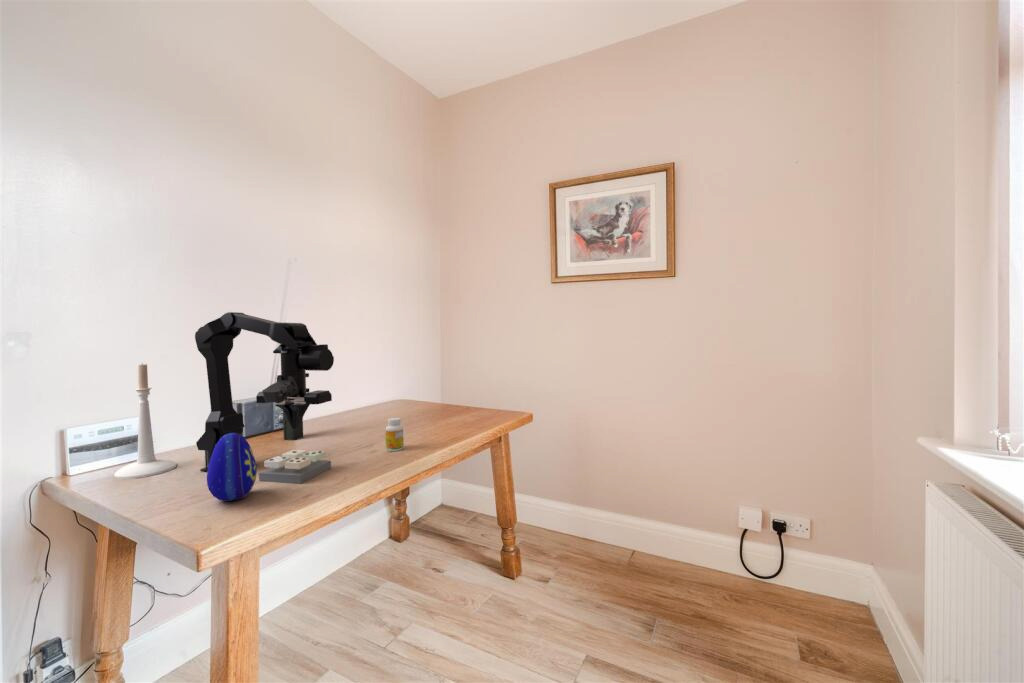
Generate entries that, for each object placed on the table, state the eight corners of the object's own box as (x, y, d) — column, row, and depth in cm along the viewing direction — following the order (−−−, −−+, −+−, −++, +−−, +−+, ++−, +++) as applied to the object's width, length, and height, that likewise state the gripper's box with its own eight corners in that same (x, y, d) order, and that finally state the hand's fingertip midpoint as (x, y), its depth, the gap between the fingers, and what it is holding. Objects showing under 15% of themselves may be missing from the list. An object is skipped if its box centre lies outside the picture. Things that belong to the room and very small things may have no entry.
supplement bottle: (382, 449, 131) (382, 419, 131) (397, 445, 135) (397, 416, 135) (391, 452, 127) (391, 421, 127) (406, 448, 131) (406, 418, 131)
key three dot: (301, 460, 110) (301, 454, 110) (312, 456, 114) (312, 450, 114) (315, 461, 109) (315, 455, 109) (325, 456, 113) (325, 450, 113)
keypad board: (259, 480, 105) (258, 473, 105) (293, 465, 116) (293, 458, 116) (300, 483, 102) (300, 475, 102) (330, 467, 114) (330, 460, 114)
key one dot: (282, 459, 111) (281, 453, 111) (293, 455, 115) (293, 449, 115) (295, 460, 110) (295, 454, 110) (306, 455, 114) (306, 449, 114)
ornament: (250, 504, 90) (248, 436, 90) (200, 511, 87) (198, 441, 86) (261, 487, 100) (260, 426, 100) (217, 492, 97) (215, 429, 97)
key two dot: (264, 467, 105) (264, 460, 105) (277, 461, 109) (276, 455, 109) (278, 467, 104) (278, 461, 104) (290, 462, 108) (290, 456, 108)
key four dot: (284, 468, 104) (284, 461, 104) (296, 462, 108) (296, 456, 108) (299, 469, 103) (299, 462, 103) (310, 463, 107) (310, 457, 107)
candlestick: (160, 476, 109) (156, 363, 108) (101, 481, 106) (96, 365, 105) (185, 461, 122) (181, 360, 121) (133, 465, 118) (129, 361, 118)
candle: (282, 439, 145) (279, 368, 144) (292, 436, 150) (290, 367, 149) (295, 440, 144) (293, 369, 143) (304, 436, 149) (302, 367, 148)
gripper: (237, 373, 102) (239, 435, 103) (302, 374, 99) (304, 438, 99) (272, 369, 113) (273, 425, 114) (332, 369, 110) (333, 427, 110)
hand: (295, 429), depth 109 cm, fingers closed
